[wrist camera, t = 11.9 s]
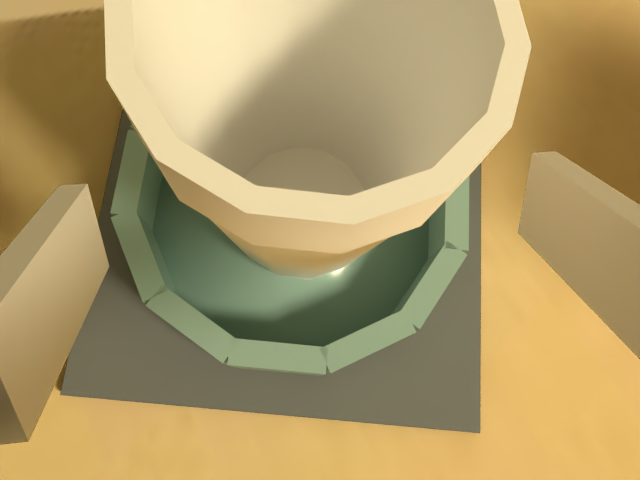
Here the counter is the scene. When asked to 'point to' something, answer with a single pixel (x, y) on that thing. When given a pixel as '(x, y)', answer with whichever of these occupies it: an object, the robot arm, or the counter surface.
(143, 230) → the bowl
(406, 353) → the mat
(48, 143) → the counter surface
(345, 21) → the foam cup
